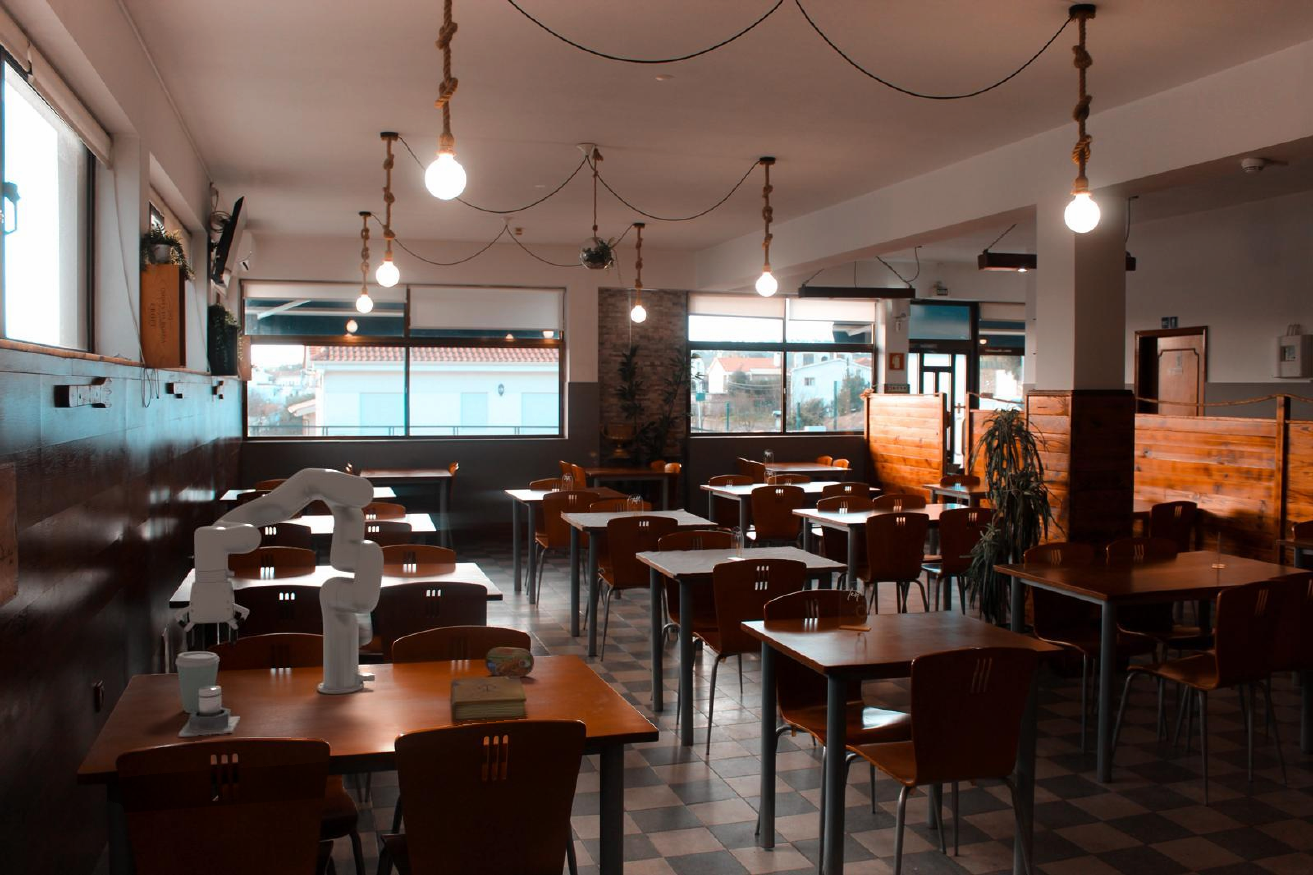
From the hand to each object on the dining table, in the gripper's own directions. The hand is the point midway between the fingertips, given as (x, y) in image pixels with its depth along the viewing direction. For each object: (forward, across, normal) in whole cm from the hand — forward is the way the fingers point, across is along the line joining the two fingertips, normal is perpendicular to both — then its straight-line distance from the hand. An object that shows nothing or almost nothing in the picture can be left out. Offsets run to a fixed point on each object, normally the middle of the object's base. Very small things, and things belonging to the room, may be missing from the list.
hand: (212, 645), depth 257 cm
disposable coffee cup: (+21, +6, -16) cm, 27 cm away
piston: (+20, 0, +1) cm, 20 cm away
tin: (+21, -77, -35) cm, 87 cm away
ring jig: (+20, 0, +1) cm, 20 cm away
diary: (+22, -68, -3) cm, 71 cm away
